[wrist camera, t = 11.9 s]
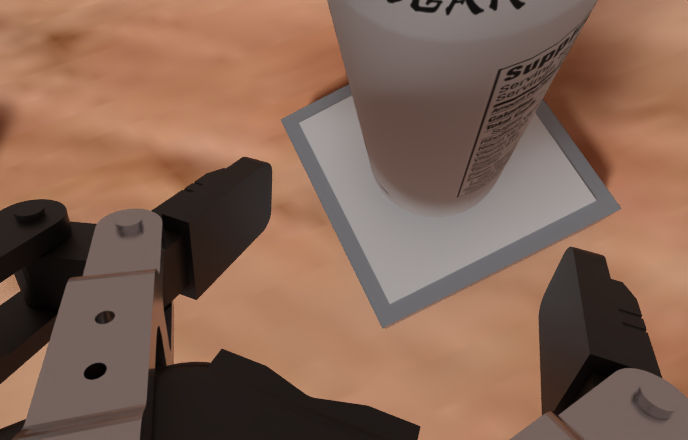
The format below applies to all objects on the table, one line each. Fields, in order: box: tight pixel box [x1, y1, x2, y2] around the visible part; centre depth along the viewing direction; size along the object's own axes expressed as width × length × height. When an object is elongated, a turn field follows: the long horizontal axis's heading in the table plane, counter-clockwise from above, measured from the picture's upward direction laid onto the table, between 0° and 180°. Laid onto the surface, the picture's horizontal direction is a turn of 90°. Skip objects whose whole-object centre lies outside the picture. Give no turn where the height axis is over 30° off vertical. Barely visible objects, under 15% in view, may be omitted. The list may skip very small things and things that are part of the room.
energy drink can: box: [327, 0, 597, 217], centre depth 14 cm, size 6×6×15 cm
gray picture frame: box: [281, 84, 621, 328], centre depth 23 cm, size 12×12×3 cm
